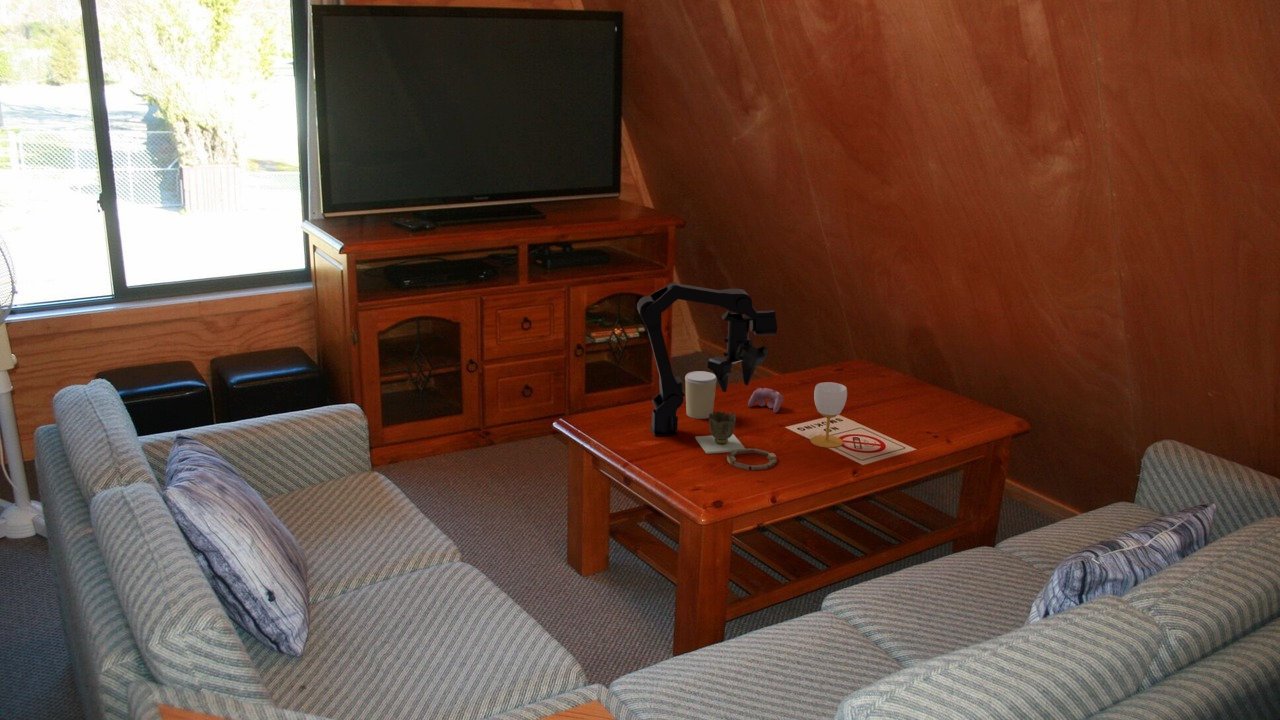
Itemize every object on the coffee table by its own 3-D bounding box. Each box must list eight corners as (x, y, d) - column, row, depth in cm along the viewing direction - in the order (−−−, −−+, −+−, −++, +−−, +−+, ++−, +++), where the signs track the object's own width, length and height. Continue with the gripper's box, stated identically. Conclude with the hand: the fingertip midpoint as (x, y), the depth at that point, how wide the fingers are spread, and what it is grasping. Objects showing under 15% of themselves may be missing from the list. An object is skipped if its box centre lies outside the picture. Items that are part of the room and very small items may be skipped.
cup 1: (703, 444, 285) (704, 417, 282) (714, 435, 291) (715, 408, 289) (728, 449, 282) (729, 422, 279) (738, 441, 288) (740, 413, 285)
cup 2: (835, 434, 296) (840, 381, 291) (848, 446, 287) (853, 391, 282) (805, 436, 294) (809, 382, 289) (817, 448, 285) (821, 393, 280)
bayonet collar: (735, 471, 269) (736, 467, 269) (721, 453, 281) (721, 448, 281) (782, 467, 272) (783, 463, 272) (766, 449, 284) (766, 445, 283)
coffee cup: (708, 407, 315) (709, 369, 311) (720, 418, 306) (722, 379, 303) (679, 410, 312) (680, 372, 308) (690, 421, 303) (691, 382, 300)
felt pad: (706, 453, 280) (706, 451, 280) (695, 438, 291) (695, 436, 290) (745, 450, 283) (745, 448, 283) (733, 436, 293) (733, 434, 293)
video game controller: (781, 415, 314) (786, 392, 315) (775, 412, 310) (781, 390, 311) (751, 408, 319) (757, 386, 320) (745, 406, 315) (751, 383, 316)
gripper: (737, 347, 277) (734, 403, 282) (782, 335, 290) (779, 388, 294) (706, 338, 285) (704, 392, 290) (752, 327, 297) (749, 379, 302)
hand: (735, 388), depth 294 cm, fingers open, 9 cm apart
